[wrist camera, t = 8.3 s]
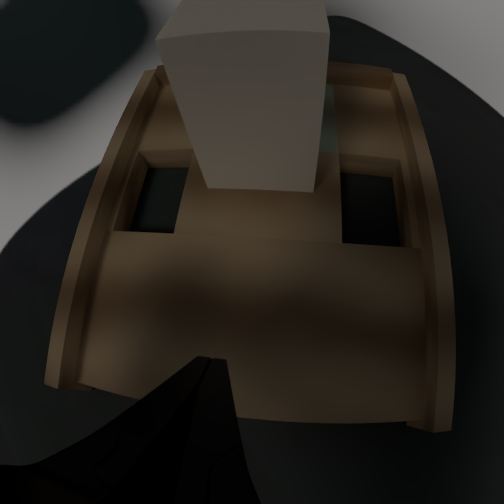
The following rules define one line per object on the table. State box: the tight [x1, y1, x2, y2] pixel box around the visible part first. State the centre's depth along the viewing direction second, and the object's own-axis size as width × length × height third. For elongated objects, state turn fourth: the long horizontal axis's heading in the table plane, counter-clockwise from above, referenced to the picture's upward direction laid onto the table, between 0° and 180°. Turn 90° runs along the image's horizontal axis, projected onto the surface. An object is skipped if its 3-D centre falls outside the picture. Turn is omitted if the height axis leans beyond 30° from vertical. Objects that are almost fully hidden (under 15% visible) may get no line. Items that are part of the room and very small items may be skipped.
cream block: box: [155, 0, 330, 192], centre depth 15 cm, size 7×6×10 cm
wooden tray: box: [44, 61, 456, 433], centre depth 18 cm, size 24×20×4 cm
